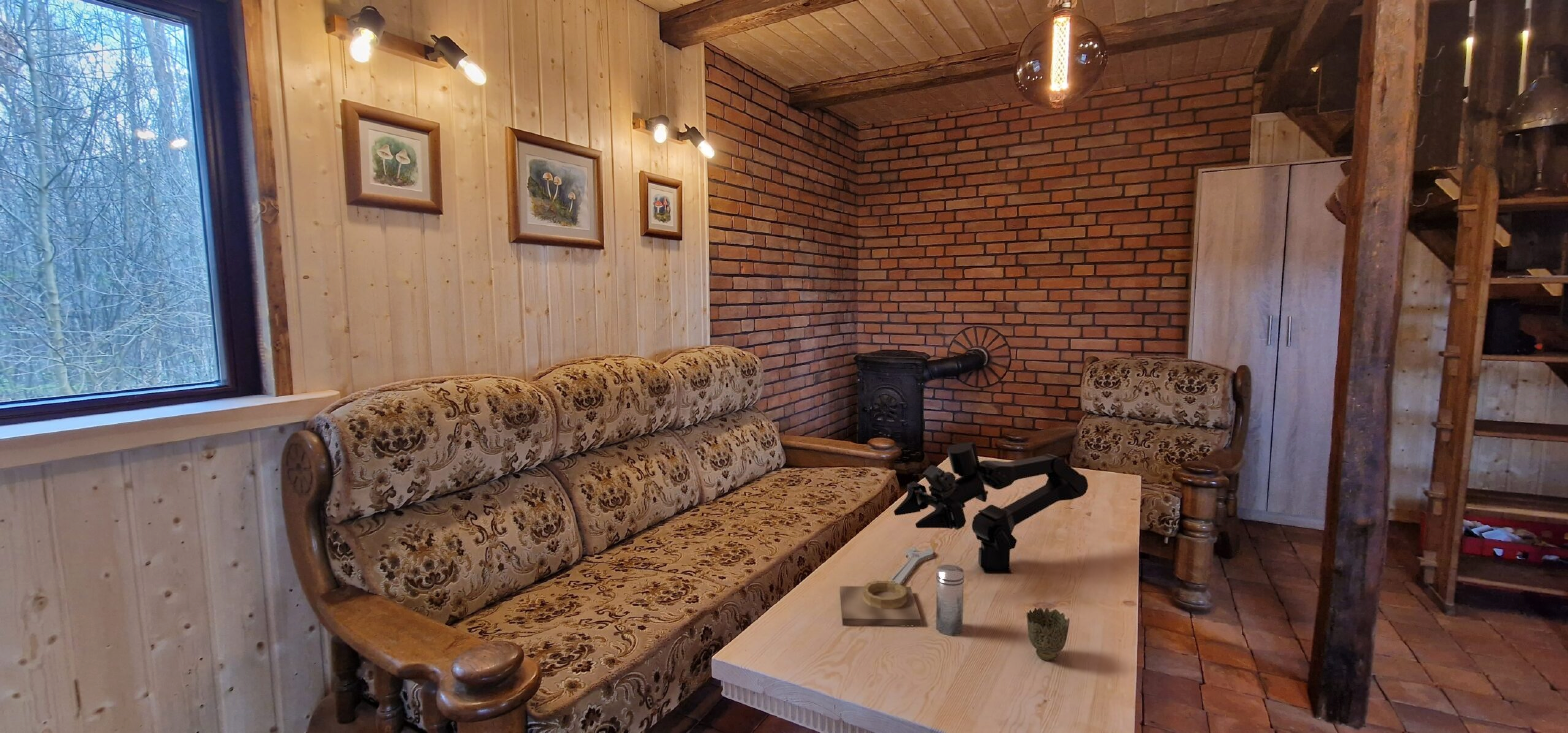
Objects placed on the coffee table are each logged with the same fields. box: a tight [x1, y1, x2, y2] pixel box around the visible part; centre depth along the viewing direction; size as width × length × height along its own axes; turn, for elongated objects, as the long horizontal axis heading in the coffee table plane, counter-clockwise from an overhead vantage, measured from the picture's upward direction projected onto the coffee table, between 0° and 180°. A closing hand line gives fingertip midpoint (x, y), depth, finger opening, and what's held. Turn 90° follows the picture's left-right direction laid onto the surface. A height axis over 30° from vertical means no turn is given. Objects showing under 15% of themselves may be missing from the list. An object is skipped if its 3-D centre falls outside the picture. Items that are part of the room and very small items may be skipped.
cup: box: [1026, 607, 1071, 662], centre depth 126 cm, size 8×7×8 cm
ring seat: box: [839, 580, 922, 627], centre depth 146 cm, size 16×15×4 cm
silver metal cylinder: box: [935, 564, 965, 637], centre depth 136 cm, size 5×5×12 cm
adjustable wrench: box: [889, 546, 934, 585], centre depth 166 cm, size 25×6×2 cm, turn 147°
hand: (905, 519), depth 154 cm, fingers open, 9 cm apart
